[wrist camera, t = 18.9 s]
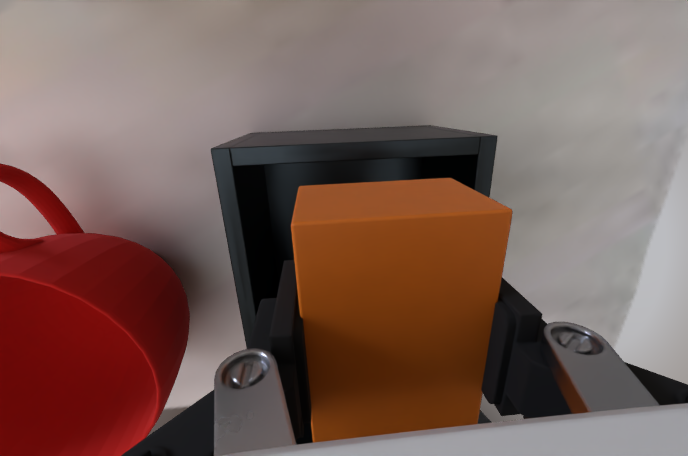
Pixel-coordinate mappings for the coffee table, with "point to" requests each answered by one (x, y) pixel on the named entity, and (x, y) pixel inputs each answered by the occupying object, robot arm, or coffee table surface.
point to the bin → (319, 169)
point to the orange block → (396, 302)
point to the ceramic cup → (83, 336)
